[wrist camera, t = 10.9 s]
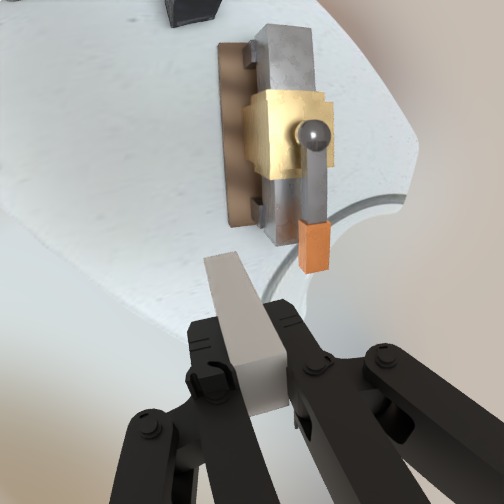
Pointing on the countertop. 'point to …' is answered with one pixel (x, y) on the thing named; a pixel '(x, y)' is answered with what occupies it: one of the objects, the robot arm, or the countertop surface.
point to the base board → (237, 133)
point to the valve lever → (314, 196)
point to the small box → (191, 11)
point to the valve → (281, 124)
